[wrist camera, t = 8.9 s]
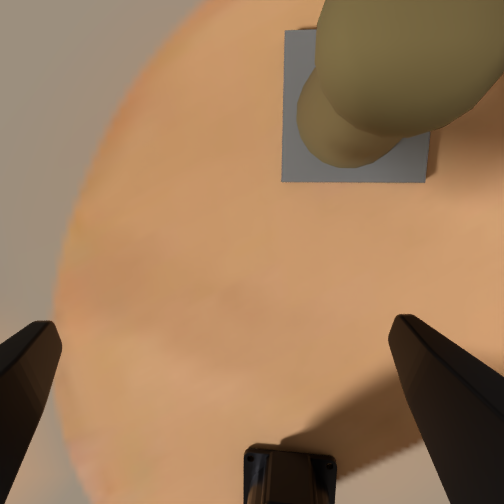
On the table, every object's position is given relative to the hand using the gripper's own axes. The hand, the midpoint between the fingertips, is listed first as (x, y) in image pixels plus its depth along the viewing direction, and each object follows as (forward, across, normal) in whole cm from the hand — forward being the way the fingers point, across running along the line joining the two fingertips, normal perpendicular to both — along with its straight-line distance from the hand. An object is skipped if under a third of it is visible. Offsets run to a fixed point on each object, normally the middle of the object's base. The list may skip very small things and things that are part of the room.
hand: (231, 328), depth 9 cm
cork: (+13, -7, -3) cm, 15 cm away
